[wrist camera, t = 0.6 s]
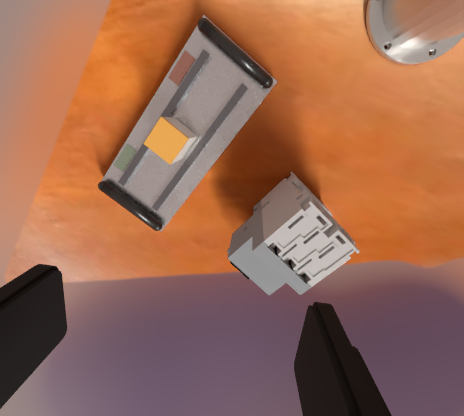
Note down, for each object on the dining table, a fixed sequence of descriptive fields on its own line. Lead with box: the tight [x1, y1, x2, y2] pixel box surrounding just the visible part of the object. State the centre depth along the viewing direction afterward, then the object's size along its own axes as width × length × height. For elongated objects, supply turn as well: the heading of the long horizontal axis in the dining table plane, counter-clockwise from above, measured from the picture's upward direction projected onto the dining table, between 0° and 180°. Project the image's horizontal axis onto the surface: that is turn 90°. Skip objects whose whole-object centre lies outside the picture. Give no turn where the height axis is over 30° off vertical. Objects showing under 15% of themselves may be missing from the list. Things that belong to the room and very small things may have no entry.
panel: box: [98, 15, 277, 231], centre depth 36 cm, size 28×12×4 cm, turn 141°
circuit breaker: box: [227, 172, 360, 295], centre depth 34 cm, size 8×14×15 cm, turn 136°
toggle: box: [144, 117, 198, 164], centre depth 33 cm, size 4×4×6 cm
